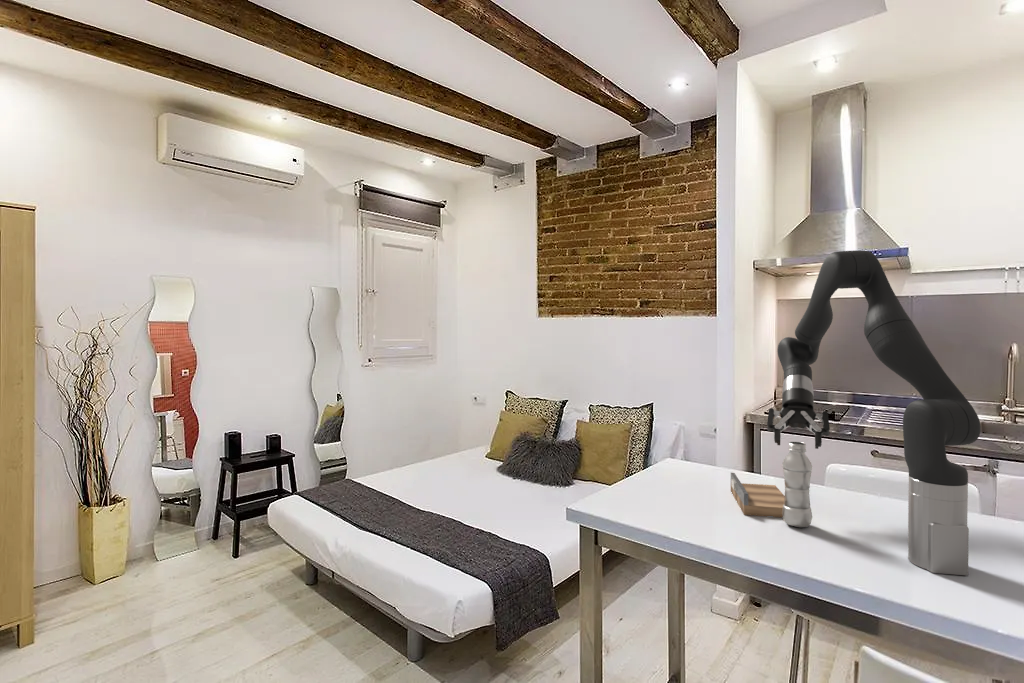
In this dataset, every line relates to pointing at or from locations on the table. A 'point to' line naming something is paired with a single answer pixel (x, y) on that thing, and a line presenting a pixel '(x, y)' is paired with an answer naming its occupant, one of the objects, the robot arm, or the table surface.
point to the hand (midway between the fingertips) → (797, 445)
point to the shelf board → (761, 500)
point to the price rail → (739, 489)
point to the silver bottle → (797, 486)
